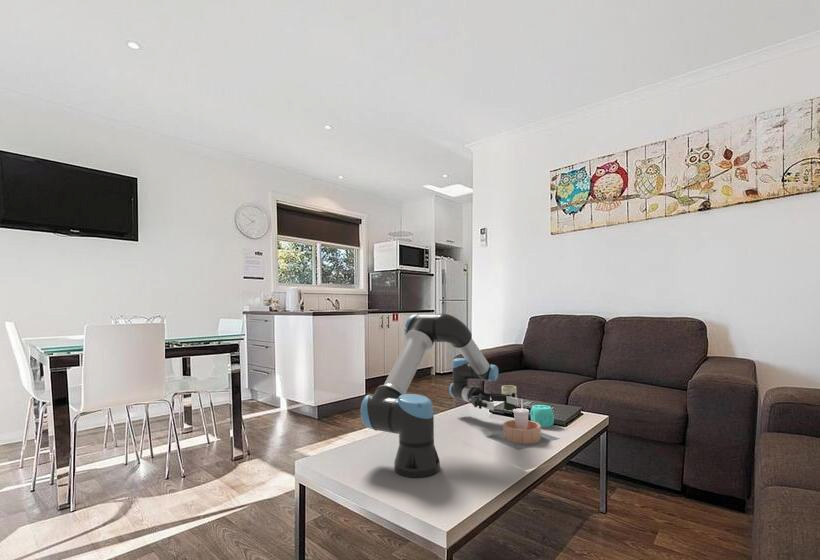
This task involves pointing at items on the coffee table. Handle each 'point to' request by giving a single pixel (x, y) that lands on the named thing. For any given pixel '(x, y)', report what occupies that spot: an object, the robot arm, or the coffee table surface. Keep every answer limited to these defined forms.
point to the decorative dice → (542, 415)
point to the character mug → (511, 391)
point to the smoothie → (521, 417)
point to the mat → (519, 446)
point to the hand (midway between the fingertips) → (505, 404)
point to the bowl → (522, 432)
